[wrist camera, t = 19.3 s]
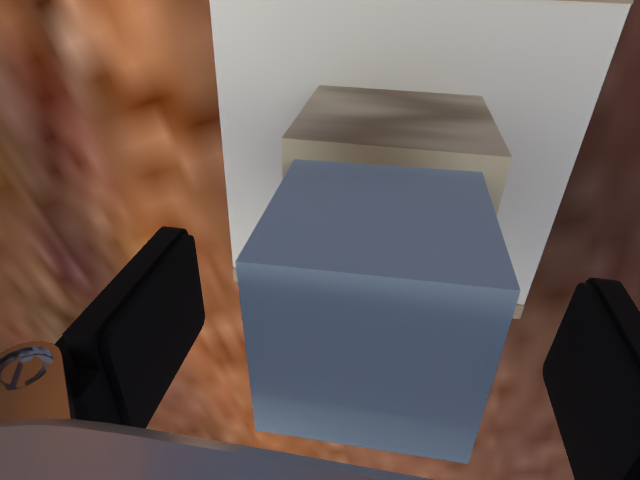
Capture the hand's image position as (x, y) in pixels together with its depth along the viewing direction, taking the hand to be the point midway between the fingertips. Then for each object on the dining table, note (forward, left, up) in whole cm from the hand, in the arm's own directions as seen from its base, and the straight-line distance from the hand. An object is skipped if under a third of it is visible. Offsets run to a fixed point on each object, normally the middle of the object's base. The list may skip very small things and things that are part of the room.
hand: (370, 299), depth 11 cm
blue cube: (0, 0, -3) cm, 3 cm away
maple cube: (0, 0, -9) cm, 9 cm away
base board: (0, 0, -10) cm, 10 cm away
